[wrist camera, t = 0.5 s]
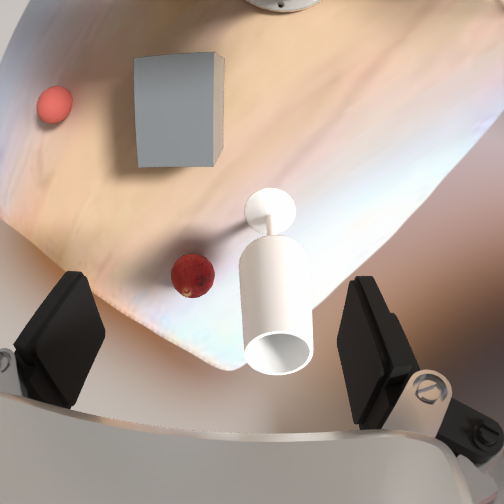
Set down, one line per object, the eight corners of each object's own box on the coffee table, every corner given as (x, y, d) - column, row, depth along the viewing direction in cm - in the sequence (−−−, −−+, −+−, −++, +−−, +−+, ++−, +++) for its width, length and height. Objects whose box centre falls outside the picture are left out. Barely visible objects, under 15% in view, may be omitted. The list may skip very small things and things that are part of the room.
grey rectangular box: (160, 61, 32) (133, 58, 24) (224, 58, 32) (214, 51, 24) (162, 148, 38) (138, 167, 30) (223, 147, 38) (213, 166, 30)
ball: (49, 88, 33) (28, 92, 28) (78, 81, 33) (57, 84, 28) (51, 122, 35) (31, 129, 31) (80, 117, 35) (60, 123, 31)
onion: (210, 239, 44) (201, 272, 37) (222, 273, 47) (215, 309, 40) (172, 247, 45) (157, 280, 38) (185, 280, 48) (174, 315, 41)
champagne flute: (243, 233, 44) (229, 380, 23) (245, 186, 40) (230, 316, 19) (292, 236, 44) (316, 383, 23) (298, 190, 40) (337, 320, 20)
